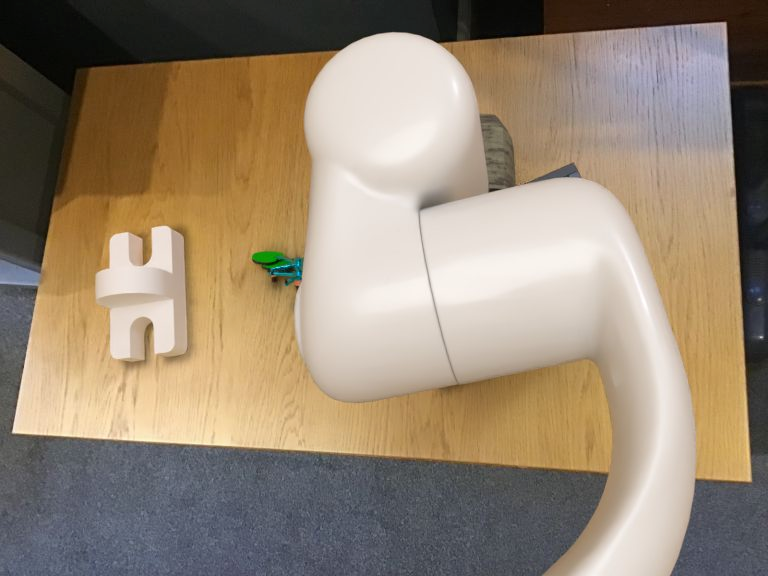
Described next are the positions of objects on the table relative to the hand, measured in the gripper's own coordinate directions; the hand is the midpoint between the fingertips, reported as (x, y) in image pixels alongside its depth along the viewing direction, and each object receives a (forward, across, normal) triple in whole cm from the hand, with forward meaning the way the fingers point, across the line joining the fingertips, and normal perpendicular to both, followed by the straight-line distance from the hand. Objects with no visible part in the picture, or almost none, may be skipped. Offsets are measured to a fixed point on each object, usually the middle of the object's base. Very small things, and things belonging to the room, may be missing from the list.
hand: (454, 272), depth 55 cm
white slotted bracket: (+30, -22, -41) cm, 55 cm away
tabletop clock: (+30, -16, +4) cm, 35 cm away
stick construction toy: (+30, -16, -21) cm, 40 cm away
